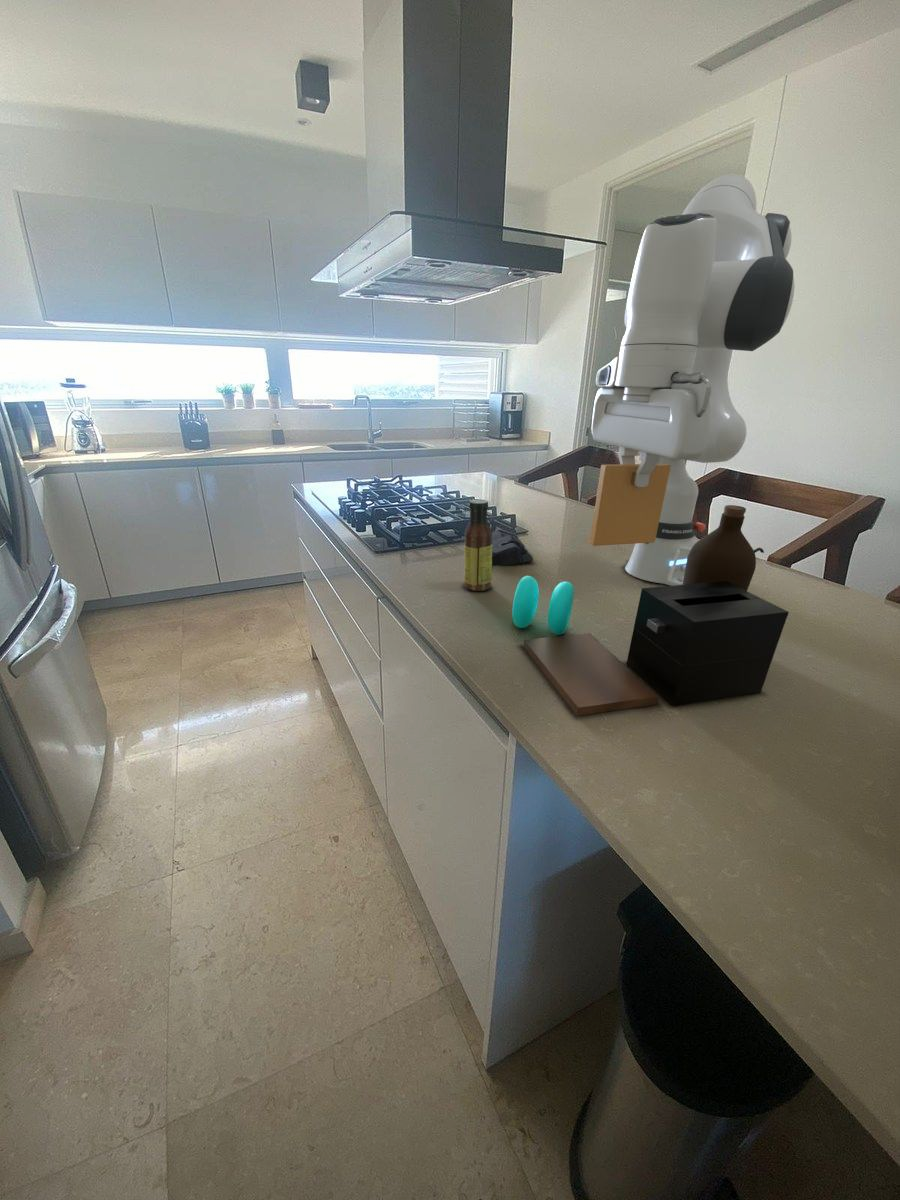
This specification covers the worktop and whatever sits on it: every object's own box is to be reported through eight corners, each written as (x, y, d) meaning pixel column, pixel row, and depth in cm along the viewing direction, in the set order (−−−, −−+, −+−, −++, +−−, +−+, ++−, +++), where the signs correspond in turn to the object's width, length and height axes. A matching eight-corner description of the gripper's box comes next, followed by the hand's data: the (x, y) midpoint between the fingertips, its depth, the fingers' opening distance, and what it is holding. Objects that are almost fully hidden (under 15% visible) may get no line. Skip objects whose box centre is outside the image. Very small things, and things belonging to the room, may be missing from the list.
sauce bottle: (491, 582, 114) (496, 498, 106) (490, 593, 108) (496, 505, 100) (463, 581, 114) (466, 496, 106) (461, 591, 109) (464, 503, 100)
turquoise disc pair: (562, 645, 87) (570, 594, 83) (508, 635, 90) (513, 585, 86) (570, 622, 96) (577, 575, 92) (520, 613, 99) (525, 567, 95)
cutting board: (588, 639, 90) (590, 632, 89) (656, 704, 72) (658, 695, 71) (523, 647, 87) (524, 639, 86) (576, 716, 69) (578, 707, 68)
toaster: (705, 654, 86) (726, 580, 80) (760, 692, 75) (789, 611, 70) (617, 665, 82) (632, 588, 76) (662, 707, 71) (684, 623, 65)
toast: (649, 540, 72) (665, 463, 67) (654, 542, 71) (671, 465, 66) (589, 543, 69) (601, 464, 65) (593, 546, 68) (605, 465, 64)
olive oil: (704, 658, 85) (744, 517, 74) (657, 631, 93) (686, 502, 83) (744, 646, 89) (787, 511, 79) (695, 622, 98) (727, 498, 87)
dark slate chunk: (521, 540, 145) (523, 524, 143) (534, 566, 125) (536, 548, 123) (470, 539, 145) (471, 523, 143) (474, 564, 125) (475, 547, 123)
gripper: (738, 373, 52) (706, 500, 58) (629, 374, 70) (613, 471, 76) (688, 371, 51) (661, 502, 57) (590, 372, 69) (577, 471, 75)
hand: (633, 484), depth 67 cm, fingers closed on toast, 1 cm apart
